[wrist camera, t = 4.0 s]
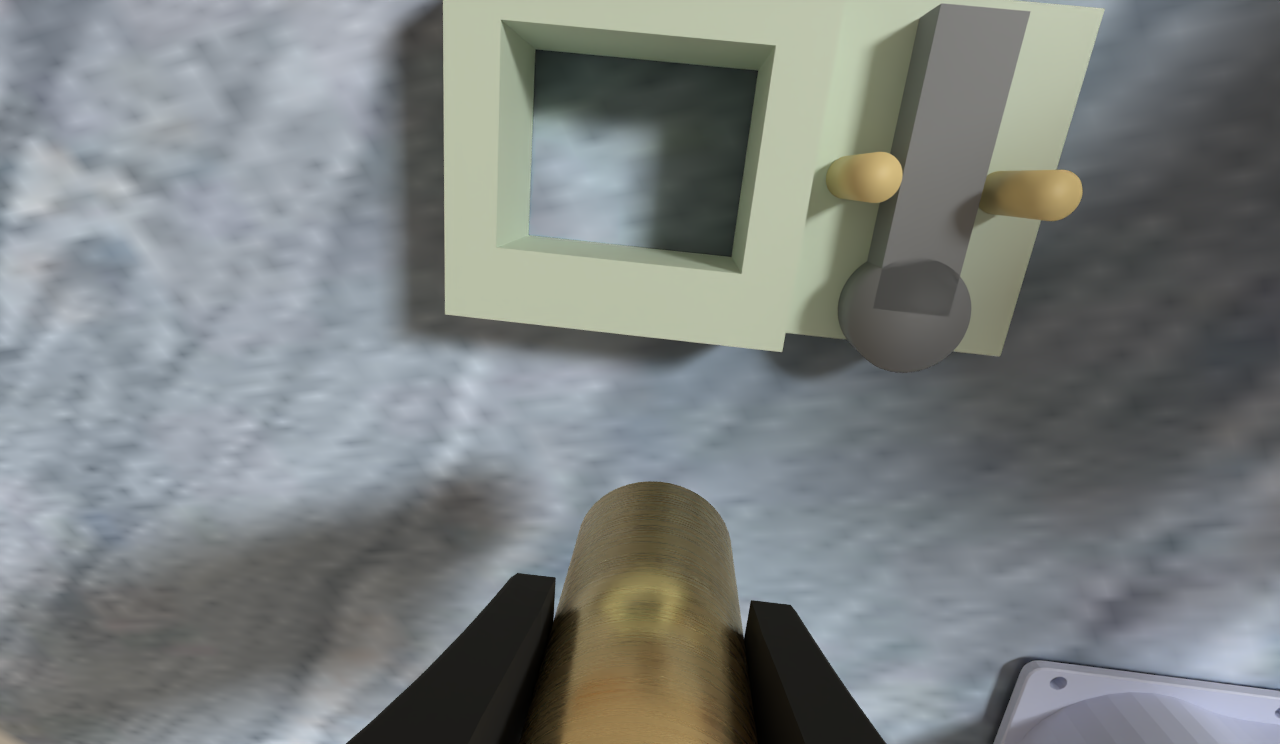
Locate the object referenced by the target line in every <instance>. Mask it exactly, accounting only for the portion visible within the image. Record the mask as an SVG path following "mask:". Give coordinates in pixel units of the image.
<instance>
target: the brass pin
mask: <svg viewBox="0 0 1280 744" xmlns="http://www.w3.org/2000/svg"><path fill="white" fill-rule="evenodd" d="M519 744H758V740H757V733H756V725H755V718H754V711H753V703H752V696H751V688H750V681H749V674H748V666H747V659H746V651H745V644H744V637H743V629H742V622H741V614H740V607H739V600H738V592H737V585H736V577H735V570H734V563H733V555H732V548H731V540H730V536H729V532H728V530H727V527H726V525H725V523H724V521H723V519H722V518H721V516H720V515H719V513H718V512H717V511H716V510H715V508H714V507H713V506H712V505H711V504H710V503H709V502H707V501H706V500H705V499H704V498H702V497H701V496H699V495H698V494H696V493H694V492H692V491H691V490H688V489H686V488H684V487H681V486H678V485H674V484H671V483H664V482H650V481H649V482H638V483H633V484H629V485H626V486H623V487H620V488H617V489H615V490H613V491H611V492H610V493H608V494H606V495H605V496H603V497H602V498H601V499H600V500H599V501H597V502H596V503H595V504H594V505H593V506H592V508H591V509H590V510H589V511H588V513H587V514H586V516H585V518H584V520H583V522H582V524H581V527H580V530H579V534H578V537H577V541H576V544H575V548H574V551H573V555H572V558H571V562H570V566H569V569H568V573H567V576H566V580H565V583H564V587H563V590H562V594H561V597H560V601H559V604H558V608H557V611H556V615H555V618H554V622H553V625H552V629H551V632H550V636H549V639H548V643H547V646H546V650H545V653H544V657H543V660H542V664H541V667H540V671H539V675H538V678H537V682H536V685H535V689H534V692H533V696H532V699H531V703H530V706H529V710H528V713H527V717H526V720H525V724H524V727H523V731H522V734H521V738H520V741H519Z"/></svg>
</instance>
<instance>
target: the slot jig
mask: <svg viewBox="0 0 1280 744" xmlns="http://www.w3.org/2000/svg"><path fill="white" fill-rule="evenodd" d="M1104 10H1105V9H1103V8H1092V7H1081V6H1069V5H1058V4H1047V3H1036V2H1025V1H1014V0H443V81H444V236H445V315H454V316H463V317H472V318H481V319H490V320H499V321H508V322H517V323H526V324H535V325H544V326H553V327H562V328H571V329H580V330H588V331H597V332H606V333H615V334H624V335H633V336H642V337H651V338H660V339H669V340H678V341H687V342H696V343H705V344H714V345H723V346H732V347H740V348H749V349H758V350H767V351H776V352H782V350H783V344H784V339H785V333H792V334H801V335H810V336H819V337H828V338H837V339H846V340H848V341H849V342H850V344H851V345H852V346H853V347H854V348H855V349H856V350H857V351H858V352H859V353H860V354H861V355H862V356H863V357H864V358H866V359H867V360H868V361H869V362H870V363H872V364H873V365H875V366H877V367H879V368H881V369H884V370H887V371H892V372H900V373H907V372H915V371H920V370H923V369H926V368H929V367H931V366H933V365H935V364H937V363H939V362H940V361H942V360H943V359H945V358H946V357H947V356H948V355H950V354H951V353H952V352H953V351H954V352H963V353H972V354H981V355H990V356H999V357H1000V356H1001V352H1002V349H1003V346H1004V342H1005V339H1006V336H1007V332H1008V329H1009V326H1010V322H1011V319H1012V316H1013V312H1014V309H1015V306H1016V302H1017V299H1018V296H1019V292H1020V289H1021V286H1022V282H1023V279H1024V276H1025V272H1026V269H1027V266H1028V262H1029V259H1030V256H1031V253H1032V249H1033V246H1034V243H1035V239H1036V236H1037V233H1038V229H1039V226H1040V223H1041V220H1044V221H1057V220H1060V219H1063V218H1065V217H1067V216H1068V215H1070V214H1071V213H1072V212H1073V211H1074V210H1075V209H1076V208H1077V206H1078V204H1079V203H1080V200H1081V197H1082V192H1083V191H1082V184H1081V181H1080V179H1079V178H1078V176H1077V175H1075V174H1074V173H1073V172H1071V171H1068V170H1056V169H1057V166H1058V163H1059V159H1060V156H1061V153H1062V149H1063V146H1064V143H1065V139H1066V136H1067V133H1068V129H1069V126H1070V123H1071V119H1072V116H1073V113H1074V109H1075V106H1076V103H1077V99H1078V96H1079V93H1080V89H1081V86H1082V83H1083V79H1084V76H1085V73H1086V69H1087V66H1088V63H1089V60H1090V56H1091V53H1092V50H1093V46H1094V43H1095V40H1096V36H1097V33H1098V30H1099V26H1100V23H1101V20H1102V16H1103V13H1104ZM535 49H537V50H548V51H558V52H568V53H579V54H589V55H600V56H610V57H621V58H631V59H642V60H652V61H663V62H673V63H684V64H694V65H705V66H715V67H726V68H736V69H747V70H757V71H758V76H757V83H756V90H755V97H754V104H753V111H752V118H751V124H750V131H749V138H748V145H747V152H746V159H745V166H744V173H743V180H742V187H741V194H740V201H739V208H738V215H737V222H736V229H735V236H734V243H733V250H732V256H731V257H727V256H718V255H708V254H699V253H689V252H680V251H671V250H661V249H652V248H643V247H633V246H624V245H614V244H605V243H596V242H586V241H577V240H567V239H558V238H549V237H539V236H530V235H529V209H530V182H531V155H532V128H533V101H534V74H535Z"/></svg>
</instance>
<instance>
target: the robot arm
mask: <svg viewBox="0 0 1280 744" xmlns="http://www.w3.org/2000/svg"><path fill="white" fill-rule="evenodd" d="M554 598H555V577H546V576H538V575H529V574H521V573H517V574H515V575H514V576H513V577H511V578H510V579H509V580H508V581H507V583H506V584H505V585H504V586H503V588H502V589H501V590H500V591H499V592H498V593H497V595H496V596H495V597H494V598H493V599H492V600H491V602H490V603H489V604H488V605H487V606H486V607H485V608H484V610H483V611H482V612H481V613H480V614H479V615H478V616H477V617H476V618H475V620H474V621H473V622H472V623H471V624H470V625H469V626H468V627H467V628H466V629H465V630H464V632H463V633H462V634H461V635H460V636H459V637H458V638H457V639H456V640H455V641H454V642H453V643H452V644H451V645H450V646H449V647H448V648H447V649H446V650H445V651H444V652H443V653H442V654H441V655H440V656H439V657H438V658H437V659H436V661H435V662H434V663H433V664H432V665H431V666H430V667H429V668H428V669H427V670H426V671H425V672H424V673H423V674H422V675H421V676H420V677H419V678H418V679H417V680H415V681H414V682H413V683H412V684H411V685H410V686H409V687H408V688H407V689H406V690H405V691H404V692H403V693H402V694H400V695H399V696H398V697H397V698H396V699H395V700H394V701H393V702H392V703H391V704H390V705H389V706H388V707H386V708H385V709H384V710H383V711H382V712H381V713H380V714H379V715H378V716H377V717H376V718H375V719H374V720H373V721H371V722H370V723H369V724H368V725H367V726H366V727H365V728H363V729H362V730H361V731H360V732H359V733H358V734H357V735H355V736H354V737H353V738H352V739H351V740H350V741H348V742H347V743H346V744H519V741H520V738H521V734H522V731H523V727H524V724H525V720H526V717H527V713H528V710H529V706H530V703H531V699H532V696H533V692H534V689H535V685H536V682H537V678H538V675H539V671H540V667H541V664H542V660H543V657H544V653H545V650H546V646H547V643H548V639H549V636H550V632H551V629H552V625H553V618H554ZM744 644H745V651H746V659H747V666H748V674H749V681H750V688H751V696H752V703H753V711H754V718H755V725H756V733H757V740H758V744H886V743H885V741H884V740H883V739H882V737H881V736H880V735H879V733H878V732H877V730H876V729H875V728H874V726H873V725H872V723H871V722H870V721H869V719H868V718H867V717H866V715H865V714H864V712H863V711H862V710H861V708H860V707H859V705H858V704H857V703H856V701H855V700H854V699H853V697H852V696H851V694H850V693H849V691H848V690H847V688H846V687H845V686H844V684H843V683H842V681H841V680H840V678H839V677H838V675H837V674H836V672H835V671H834V669H833V668H832V666H831V665H830V663H829V662H828V660H827V659H826V657H825V656H824V654H823V653H822V651H821V650H820V648H819V647H818V645H817V644H816V642H815V641H814V639H813V637H812V636H811V634H810V633H809V631H808V630H807V628H806V627H805V625H804V623H803V622H802V620H801V619H800V617H799V616H798V614H797V612H796V611H795V610H794V609H793V607H792V606H791V605H787V604H778V603H769V602H761V601H752V600H751V604H750V609H749V615H748V620H747V626H746V632H745V637H744ZM1055 677H1057V678H1055ZM1053 678H1055V679H1053ZM1052 679H1053V680H1052ZM993 744H1280V691H1276V690H1269V689H1261V688H1253V687H1245V686H1237V685H1229V684H1222V683H1214V682H1206V681H1198V680H1190V679H1183V678H1175V677H1167V676H1159V675H1151V674H1144V673H1136V672H1128V671H1120V670H1112V669H1104V668H1097V667H1089V666H1081V665H1073V664H1065V663H1058V662H1050V661H1042V660H1038V661H1031V662H1029V663H1027V664H1026V665H1024V667H1023V668H1022V670H1021V672H1020V674H1019V677H1018V680H1017V682H1016V685H1015V688H1014V690H1013V693H1012V696H1011V698H1010V701H1009V703H1008V706H1007V709H1006V711H1005V714H1004V717H1003V719H1002V722H1001V725H1000V727H999V730H998V733H997V735H996V738H995V741H994V743H993Z"/></svg>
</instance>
